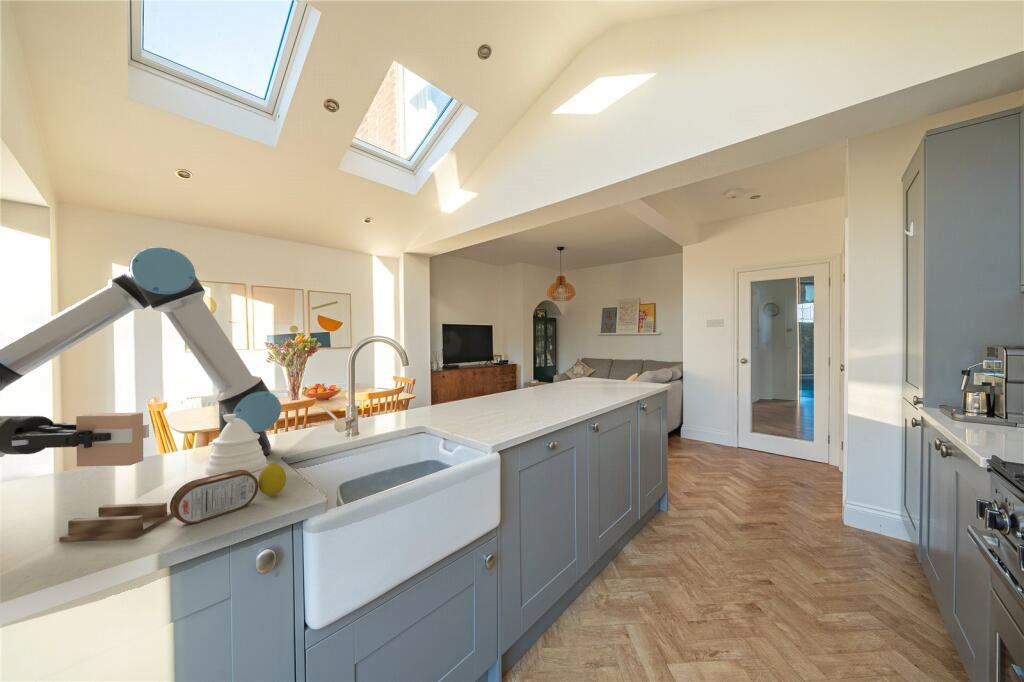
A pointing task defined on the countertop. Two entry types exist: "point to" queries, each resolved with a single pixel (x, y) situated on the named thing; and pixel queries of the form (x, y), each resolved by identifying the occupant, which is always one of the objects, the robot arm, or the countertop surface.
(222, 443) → the honey pot
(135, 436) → the tan square block
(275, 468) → the lemon
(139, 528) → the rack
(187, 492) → the tin
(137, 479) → the countertop surface
